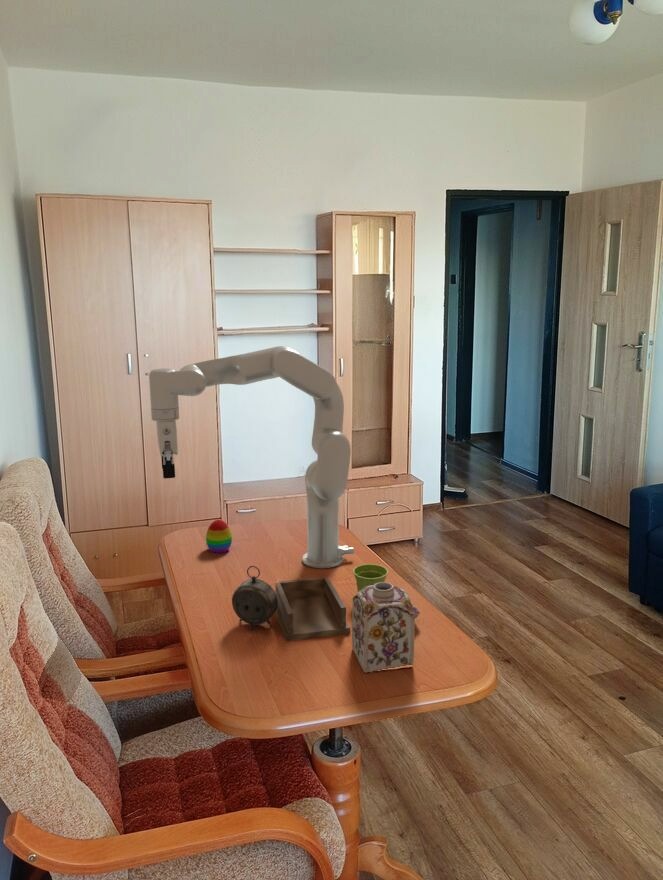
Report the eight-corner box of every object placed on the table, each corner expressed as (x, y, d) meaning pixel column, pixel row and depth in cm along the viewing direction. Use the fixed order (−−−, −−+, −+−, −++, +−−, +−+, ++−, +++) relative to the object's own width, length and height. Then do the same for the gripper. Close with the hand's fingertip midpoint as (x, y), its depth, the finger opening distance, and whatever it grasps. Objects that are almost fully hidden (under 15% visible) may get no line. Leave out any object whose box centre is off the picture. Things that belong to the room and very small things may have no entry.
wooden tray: (330, 598, 195) (330, 576, 194) (350, 633, 176) (350, 608, 175) (272, 604, 191) (271, 582, 190) (285, 641, 172) (285, 616, 171)
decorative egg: (211, 544, 234) (210, 515, 232) (235, 546, 233) (234, 516, 230) (202, 553, 227) (201, 523, 224) (227, 555, 225) (226, 525, 223)
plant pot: (394, 603, 192) (395, 573, 190) (365, 611, 187) (365, 580, 185) (374, 590, 200) (375, 561, 198) (346, 598, 195) (346, 568, 193)
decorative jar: (414, 669, 160) (416, 594, 156) (364, 675, 158) (364, 599, 154) (398, 642, 172) (400, 572, 168) (351, 648, 169) (351, 577, 165)
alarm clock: (278, 625, 180) (277, 564, 177) (270, 635, 175) (268, 573, 172) (239, 618, 184) (237, 559, 180) (229, 628, 179) (227, 567, 175)
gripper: (180, 419, 192) (183, 480, 195) (177, 407, 208) (180, 464, 212) (151, 420, 190) (155, 482, 194) (150, 408, 206) (154, 466, 210)
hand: (168, 473), depth 203 cm, fingers open, 9 cm apart
